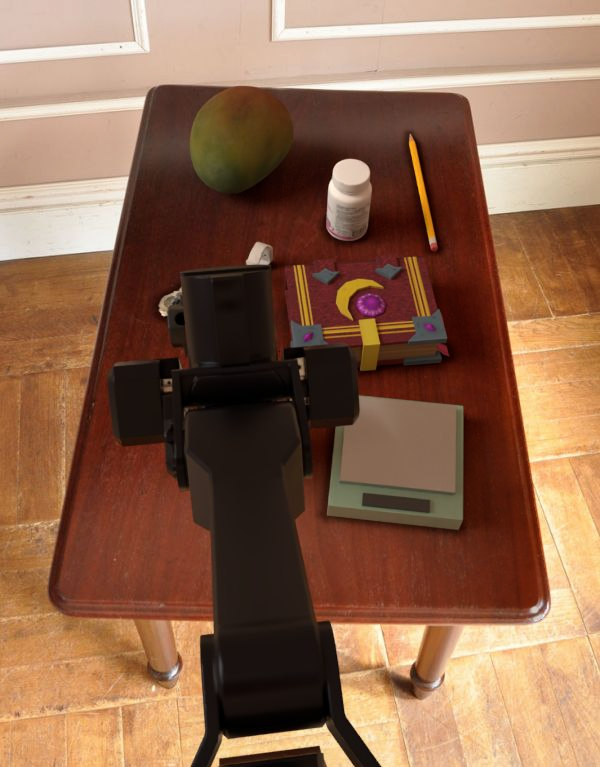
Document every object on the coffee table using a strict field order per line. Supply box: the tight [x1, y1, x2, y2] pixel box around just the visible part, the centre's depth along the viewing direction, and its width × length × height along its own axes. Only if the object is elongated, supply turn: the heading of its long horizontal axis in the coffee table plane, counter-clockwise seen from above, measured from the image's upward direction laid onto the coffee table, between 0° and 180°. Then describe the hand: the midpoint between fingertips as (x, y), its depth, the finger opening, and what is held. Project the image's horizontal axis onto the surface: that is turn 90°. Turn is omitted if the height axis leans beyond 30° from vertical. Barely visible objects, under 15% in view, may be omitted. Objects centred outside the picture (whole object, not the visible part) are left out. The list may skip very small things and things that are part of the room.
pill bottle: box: [325, 158, 373, 242], centre depth 94 cm, size 5×5×8 cm
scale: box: [326, 394, 464, 531], centre depth 80 cm, size 12×12×3 cm
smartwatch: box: [245, 241, 274, 265], centre depth 92 cm, size 4×2×4 cm, turn 158°
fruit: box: [189, 85, 295, 195], centre depth 98 cm, size 12×13×10 cm
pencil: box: [408, 133, 439, 252], centre depth 101 cm, size 1×19×1 cm, turn 4°
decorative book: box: [284, 253, 450, 372], centre depth 88 cm, size 11×16×5 cm
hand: (232, 374), depth 74 cm, fingers closed on cup, 7 cm apart
